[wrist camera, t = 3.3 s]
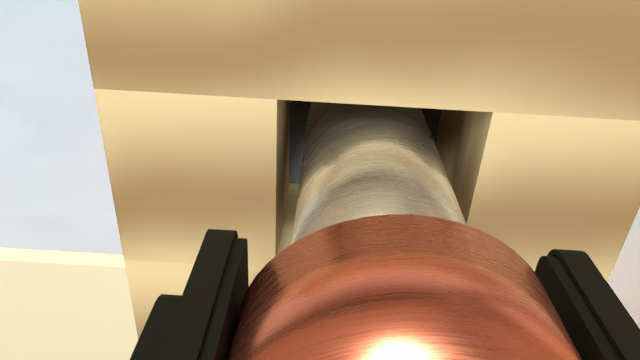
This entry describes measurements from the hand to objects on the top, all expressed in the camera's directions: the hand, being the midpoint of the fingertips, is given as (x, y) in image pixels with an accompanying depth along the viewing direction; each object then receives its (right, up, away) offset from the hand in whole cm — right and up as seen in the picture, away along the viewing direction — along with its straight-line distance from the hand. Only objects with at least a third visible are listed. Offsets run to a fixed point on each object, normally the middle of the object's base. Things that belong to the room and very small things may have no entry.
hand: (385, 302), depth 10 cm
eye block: (0, +4, +8) cm, 9 cm away
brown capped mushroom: (0, +4, +8) cm, 9 cm away
